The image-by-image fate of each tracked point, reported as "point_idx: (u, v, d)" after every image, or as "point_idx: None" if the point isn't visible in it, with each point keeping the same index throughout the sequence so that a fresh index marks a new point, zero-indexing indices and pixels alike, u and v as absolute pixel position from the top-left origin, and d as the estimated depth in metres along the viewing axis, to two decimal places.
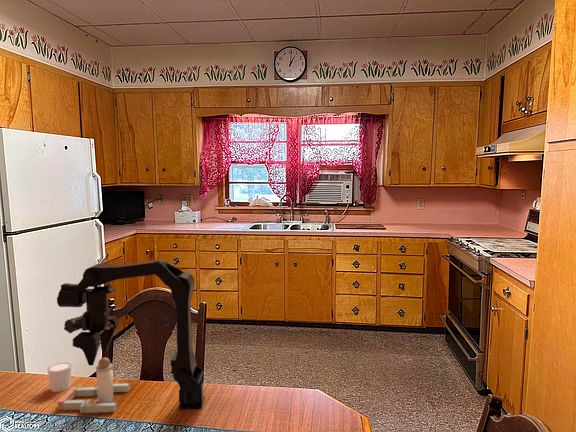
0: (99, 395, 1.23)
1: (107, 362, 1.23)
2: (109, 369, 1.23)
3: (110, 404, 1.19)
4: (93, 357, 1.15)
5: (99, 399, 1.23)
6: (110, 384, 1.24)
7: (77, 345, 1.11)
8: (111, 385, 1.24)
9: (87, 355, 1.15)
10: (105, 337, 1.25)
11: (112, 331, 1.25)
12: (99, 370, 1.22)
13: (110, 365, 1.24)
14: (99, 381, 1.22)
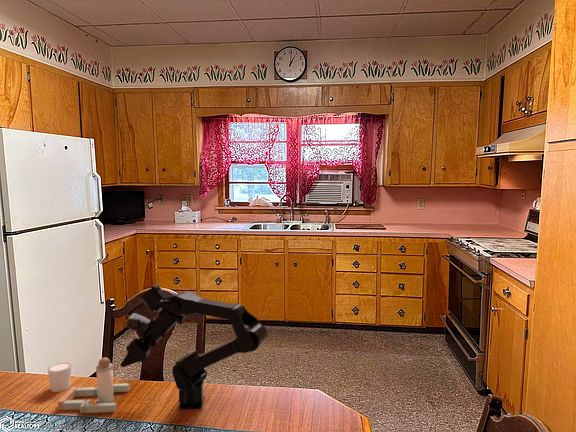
0: (99, 395, 1.23)
1: (107, 362, 1.23)
2: (109, 369, 1.23)
3: (110, 404, 1.19)
4: (129, 363, 1.19)
5: (99, 399, 1.23)
6: (110, 384, 1.24)
7: (130, 351, 1.14)
8: (111, 385, 1.24)
9: (126, 358, 1.18)
10: None
11: None
12: (99, 370, 1.22)
13: (110, 365, 1.24)
14: (99, 381, 1.22)
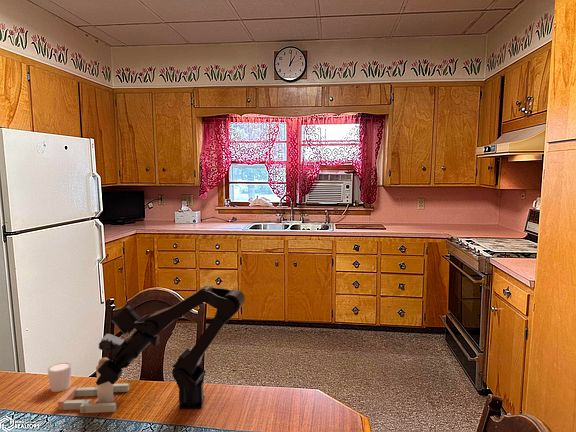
0: (99, 395, 1.23)
1: None
2: None
3: (110, 404, 1.19)
4: (104, 381, 1.21)
5: (99, 399, 1.23)
6: (110, 384, 1.24)
7: (101, 373, 1.14)
8: (111, 385, 1.24)
9: (102, 376, 1.20)
10: None
11: (123, 366, 1.27)
12: None
13: None
14: None
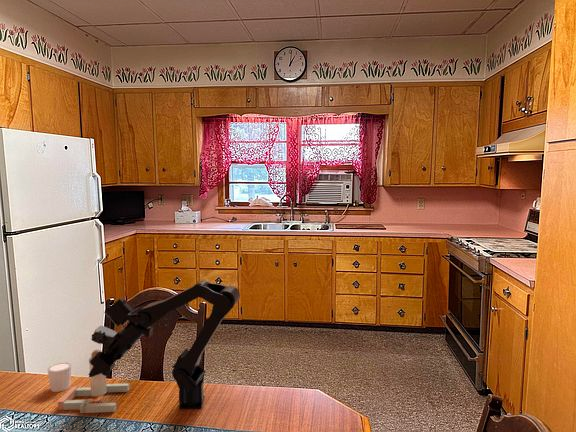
0: (92, 387, 1.22)
1: None
2: None
3: (110, 404, 1.19)
4: (97, 373, 1.21)
5: (92, 391, 1.22)
6: (103, 376, 1.23)
7: (93, 365, 1.14)
8: (104, 377, 1.24)
9: (94, 368, 1.20)
10: None
11: (117, 358, 1.27)
12: None
13: None
14: None
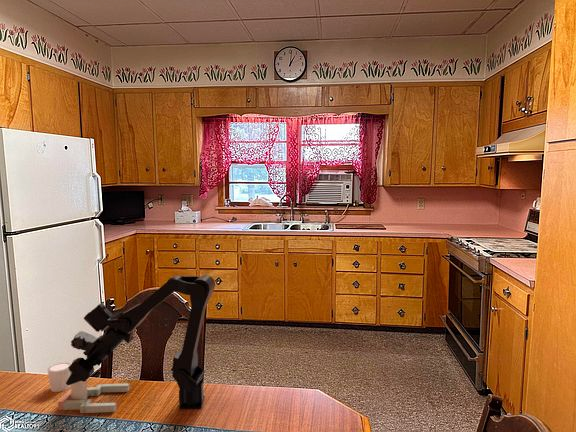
0: (72, 396, 1.22)
1: None
2: None
3: (110, 404, 1.19)
4: (74, 382, 1.19)
5: None
6: (84, 385, 1.23)
7: (72, 371, 1.14)
8: (85, 386, 1.24)
9: (71, 377, 1.18)
10: (90, 362, 1.28)
11: None
12: None
13: None
14: None
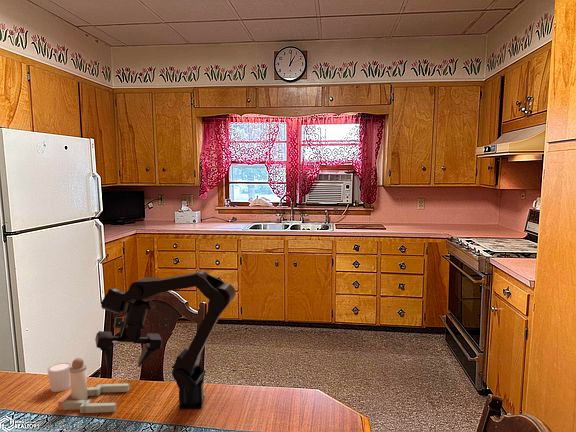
0: (72, 396, 1.22)
1: (81, 363, 1.23)
2: (83, 370, 1.22)
3: (110, 404, 1.19)
4: (106, 360, 1.20)
5: None
6: (84, 385, 1.23)
7: (95, 339, 1.20)
8: (85, 386, 1.24)
9: (105, 355, 1.21)
10: (143, 353, 1.26)
11: (146, 351, 1.24)
12: (72, 371, 1.21)
13: (84, 366, 1.24)
14: (73, 382, 1.22)
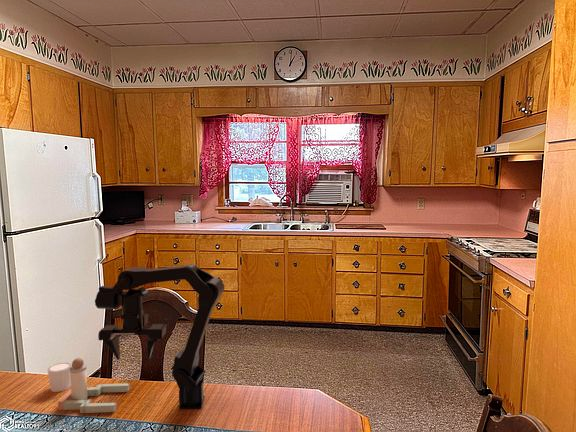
0: (72, 396, 1.22)
1: (81, 363, 1.23)
2: (82, 370, 1.22)
3: (110, 404, 1.19)
4: None
5: None
6: (84, 385, 1.23)
7: None
8: (85, 386, 1.24)
9: None
10: None
11: None
12: (72, 371, 1.21)
13: (84, 366, 1.24)
14: (73, 382, 1.22)
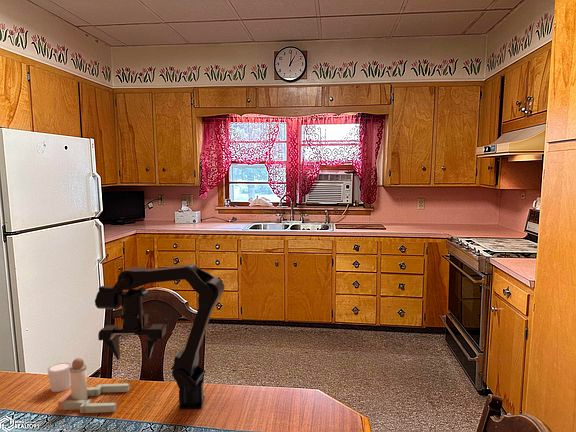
0: (72, 396, 1.22)
1: (81, 363, 1.23)
2: (83, 370, 1.22)
3: (110, 404, 1.19)
4: None
5: None
6: (84, 385, 1.23)
7: None
8: (85, 386, 1.24)
9: None
10: None
11: None
12: (72, 371, 1.21)
13: (84, 366, 1.24)
14: (73, 382, 1.22)
